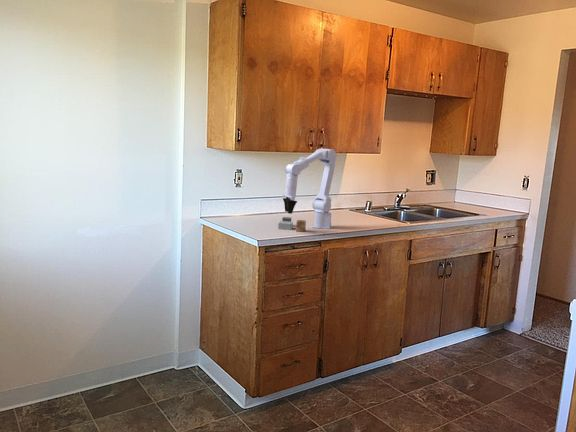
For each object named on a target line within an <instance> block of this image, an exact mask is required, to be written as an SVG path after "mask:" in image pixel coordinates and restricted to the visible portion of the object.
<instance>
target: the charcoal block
mask: <svg viewBox="0 0 576 432" xmlns="http://www.w3.org/2000/svg"><path fill="white" fill-rule="evenodd" d="M281 221H288V222H292V217H289V216H283V217H282V220H281Z"/></svg>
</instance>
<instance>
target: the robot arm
mask: <svg viewBox="0 0 576 432" xmlns="http://www.w3.org/2000/svg"><path fill="white" fill-rule="evenodd" d="M336 159H337V152H336V150H334V149H333V148H330V149H329V148H322V147H320V148H318V149H316V150H315V151H314V152H313V153H311V154H310V155H309V156H307V157H304V156H303V157H302V156H301V157H299V159H298V160H296V161H293V163H289V164H287V165H286V166H285V169H284V172H285V176H286V179H285V188H284V189H285V193H284V194H282V197H283V198H282V200H283V203H284V211H285V212H287V214H289V215H290V214H291V215H292V214H293V213H294V209H295V206H296V204H297V203H298V200H296V199H295V198H297V186H298V177H299V175H300V174H301V173H302V171H303V170H305V169H307V168H308V167H309V166H310V164H312V163H313V162H315V161H317V160H319V161H320V162H321V163H322V164H323V166H324V168H323V173H322V177H321V183H320V188H319V191H318V192H319V193H318V194H317V195H315V197H314V199H313V202H312V205H311V206H312V209H313V211H314V222H313V223H314V224H313V226H312V228H313V229H314V228H315V229H324V230H331V226H332V212H330V211H331V209H332V198H331V197H330V196H329V195H330V192H331V186H332V181H333V177H334V176H333V175H334V172H335V167H336Z"/></svg>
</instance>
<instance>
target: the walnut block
mask: <svg viewBox="0 0 576 432" xmlns="http://www.w3.org/2000/svg"><path fill="white" fill-rule="evenodd" d="M306 223H307V220H305V219H304V220H302V219H297V220H296V224H295V225H296V227H295V231H296V232H299V233H305V232H306V230H307V229H306V227H307V226H306V225H307V224H306Z"/></svg>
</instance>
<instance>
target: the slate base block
mask: <svg viewBox="0 0 576 432" xmlns="http://www.w3.org/2000/svg"><path fill="white" fill-rule="evenodd" d="M293 223H294V222H293V221H291V222H288V221H282V220H280V221H279V222H278V223H277V225H278V226H277V227H278V228H277V230H285V231H292V230H293V225H294V224H293Z"/></svg>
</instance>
